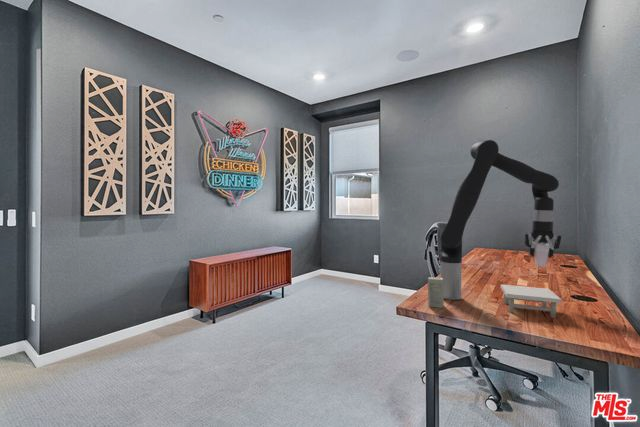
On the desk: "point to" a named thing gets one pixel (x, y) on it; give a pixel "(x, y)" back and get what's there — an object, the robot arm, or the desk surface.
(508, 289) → the footstool
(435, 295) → the skincare box
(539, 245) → the smoothie
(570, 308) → the desk surface
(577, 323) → the desk surface
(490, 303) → the desk surface
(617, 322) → the desk surface
